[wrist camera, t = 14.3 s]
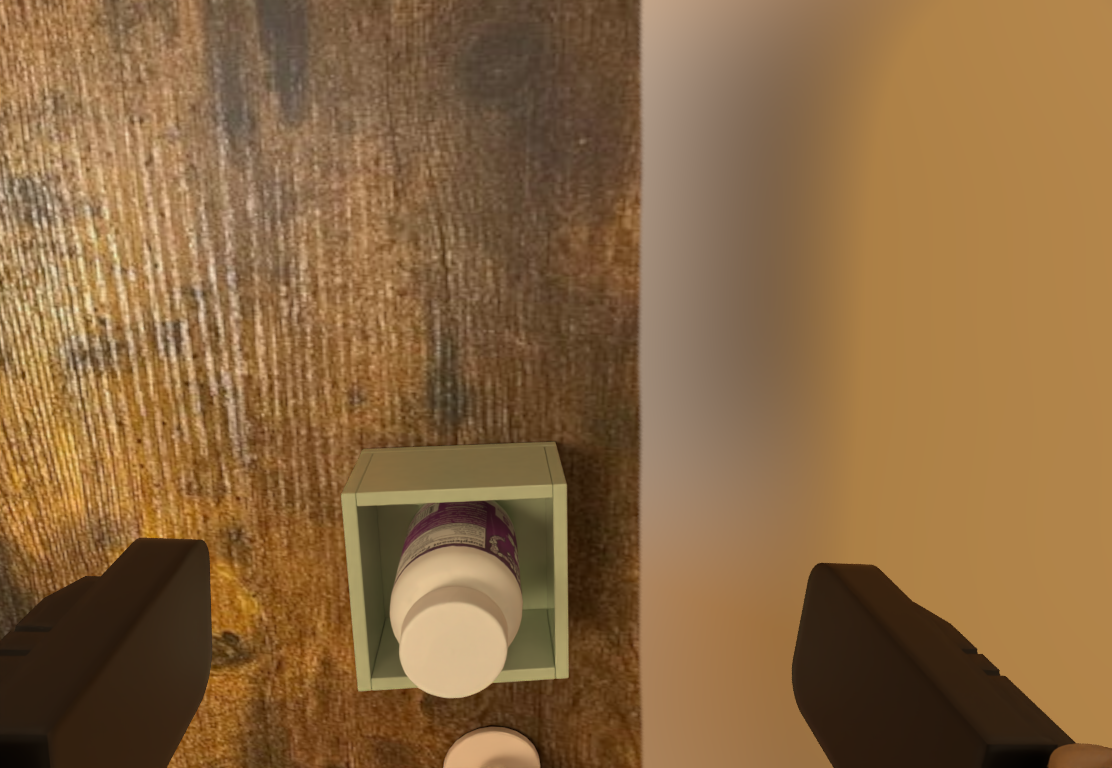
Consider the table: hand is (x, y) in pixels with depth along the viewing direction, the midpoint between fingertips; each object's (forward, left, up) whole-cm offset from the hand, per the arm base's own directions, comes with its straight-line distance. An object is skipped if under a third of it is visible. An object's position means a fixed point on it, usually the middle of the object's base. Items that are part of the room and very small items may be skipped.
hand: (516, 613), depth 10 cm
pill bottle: (+7, -9, -26) cm, 28 cm away
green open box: (+7, -9, -26) cm, 28 cm away
